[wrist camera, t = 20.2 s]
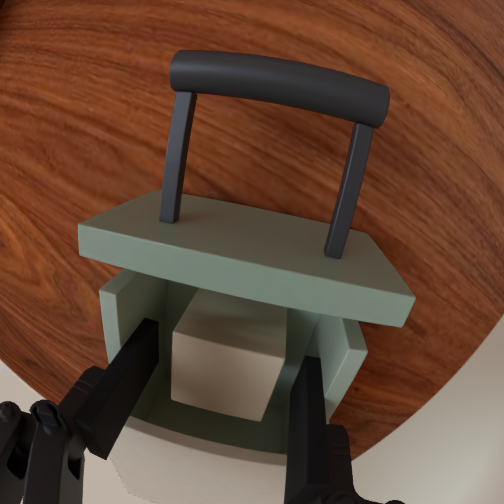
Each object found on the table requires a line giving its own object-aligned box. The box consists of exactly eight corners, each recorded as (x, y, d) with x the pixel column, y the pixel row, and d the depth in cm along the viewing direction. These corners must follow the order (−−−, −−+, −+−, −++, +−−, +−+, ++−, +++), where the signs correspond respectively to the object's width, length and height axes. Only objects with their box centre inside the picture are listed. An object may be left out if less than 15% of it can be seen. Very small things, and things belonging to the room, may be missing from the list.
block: (287, 300, 15) (285, 359, 11) (268, 363, 17) (260, 422, 12) (202, 280, 15) (172, 331, 11) (194, 345, 17) (170, 399, 13)
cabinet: (148, 322, 19) (88, 410, 11) (323, 362, 19) (332, 470, 11) (155, 428, 25) (128, 493, 17) (275, 456, 24) (267, 527, 16)
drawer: (174, 74, 13) (99, 39, 6) (395, 116, 12) (470, 103, 6) (152, 369, 20) (115, 436, 14) (300, 403, 19) (298, 481, 13)
